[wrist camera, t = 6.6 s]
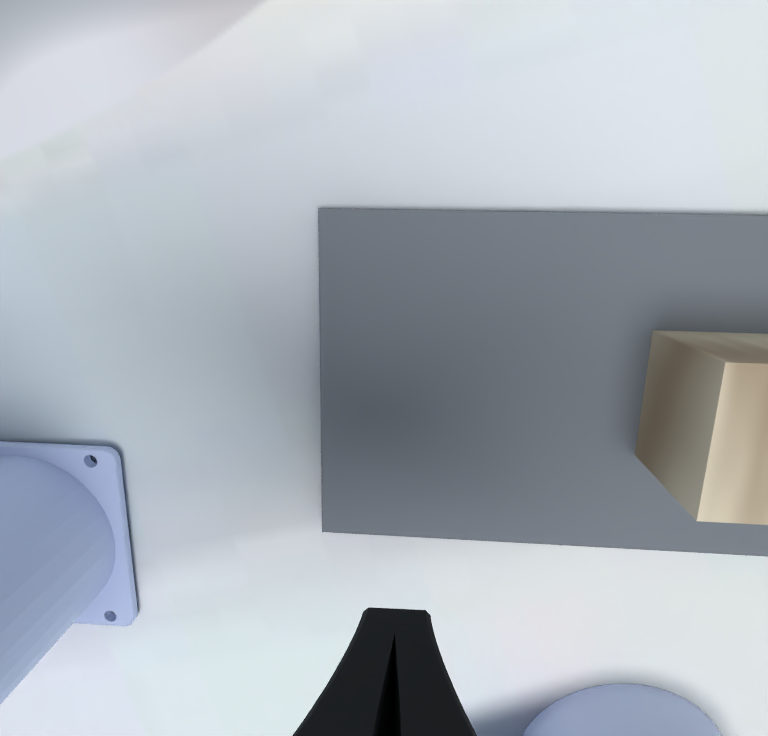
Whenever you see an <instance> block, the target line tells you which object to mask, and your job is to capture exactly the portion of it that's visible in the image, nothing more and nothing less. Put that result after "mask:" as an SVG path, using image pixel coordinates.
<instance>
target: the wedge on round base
mask: <svg viewBox="0 0 768 736" xmlns="http://www.w3.org/2000/svg"><path fill="white" fill-rule="evenodd" d="M522 736H722V735H721V733H720V732H719V730H718V728H717V727H716V725H715V724H714V723H713V722H712V720H711V719H710V718H709V717H708V716H707V715H706V714H705V713H704V712H703V711H702V710H701V709H700V708H698V707H697V706H695V705H694V704H692V703H691V702H689V701H688V700H686V699H684V698H682V697H680V696H678V695H676V694H674V693H671V692H669V691H666V690H663V689H660V688H655V687H651V686H646V685H638V684H608V685H600V686H595V687H591V688H586V689H583V690H580V691H577V692H574V693H571V694H569V695H567V696H565V697H563V698H561V699H559V700H557V701H556V702H554V703H553V704H551V705H550V706H548V707H547V708H545V709H544V710H543V711H542V712H541V713H540V714H538V715H537V716H536V717H535V719H534V720H533V721H532V722H531V723H530V724H529V725H528V727H527V728H526V730H525V732H524V733H523V735H522Z"/></svg>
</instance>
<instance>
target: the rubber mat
mask: <svg viewBox="0 0 768 736" xmlns="http://www.w3.org/2000/svg"><path fill="white" fill-rule="evenodd" d="M318 224H319V305H320V387H321V468H322V532H334V533H352V534H370V535H388V536H407V537H425V538H443V539H461V540H479V541H497V542H516V543H534V544H552V545H570V546H588V547H607V548H625V549H643V550H661V551H679V552H698V553H716V554H734V555H752V556H768V525H759V524H740V523H721V522H701V521H696V520H695V519H694V518H693V517H692V516H691V515H690V514H689V513H688V511H687V510H686V509H685V508H684V507H683V506H682V505H681V504H680V503H679V502H678V501H677V500H676V499H675V498H674V496H673V495H672V494H671V493H670V492H669V491H668V490H667V489H666V488H665V487H664V486H663V485H662V484H661V483H660V481H659V480H658V479H657V478H656V477H655V476H654V475H653V474H652V473H651V472H650V471H649V470H648V469H647V468H646V467H645V465H644V464H643V463H642V462H641V461H640V460H639V459H638V458H637V457H636V456H635V450H636V443H637V436H638V429H639V423H640V416H641V409H642V402H643V395H644V388H645V381H646V374H647V367H648V360H649V353H650V347H651V340H652V333H653V330H658V331H692V332H726V333H760V334H768V215H710V214H648V213H585V212H523V211H460V210H398V209H336V208H318Z"/></svg>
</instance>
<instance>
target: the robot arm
mask: <svg viewBox="0 0 768 736" xmlns="http://www.w3.org/2000/svg"><path fill="white" fill-rule="evenodd" d="M90 455H92V456H94V457H95V458H96V460H97V463H94V462H93V461H92V460H91V458H90ZM110 611H113V612H114V613H115V614H116V615H114V614H112V613H111V612H110ZM137 614H138V610H137V601H136V592H135V583H134V574H133V565H132V557H131V548H130V539H129V530H128V521H127V512H126V503H125V495H124V486H123V477H122V468H121V459H120V456H119V454H118V452H117V451H116V450H115V449H113V448H112V447H108V446H90V445H68V444H46V443H24V442H2V441H0V705H1V703H2V702H3V701H4V700H5V699H6V698H7V697H8V696H9V694H10V693H11V692H12V691H13V690H14V689H15V688H16V687H17V685H18V684H19V683H20V682H21V681H22V680H23V679H24V678H25V676H26V675H27V674H28V673H29V672H30V671H31V670H32V669H33V668H34V666H35V665H36V664H37V663H38V662H39V661H40V660H41V659H42V657H43V656H44V655H45V654H46V653H47V652H48V651H49V650H50V648H51V647H52V646H53V645H54V644H55V643H56V642H57V641H58V639H59V638H60V637H61V636H62V635H63V634H64V633H65V632H66V630H67V629H68V628H69V627H70V626H71V625H72V624H73V623H84V624H98V625H113V626H129V625H130V624H132V623H133V621H134V620H135V618H136V617H137ZM293 736H477V735H476V733H475V731H474V729H473V727H472V725H471V723H470V721H469V719H468V717H467V715H466V713H465V711H464V709H463V707H462V705H461V703H460V700H459V698H458V696H457V694H456V691H455V689H454V687H453V684H452V682H451V680H450V677H449V675H448V673H447V670H446V668H445V665H444V662H443V660H442V657H441V654H440V651H439V648H438V645H437V642H436V639H435V635H434V632H433V628H432V623H431V616H430V614H429V613H428V612H427V611H426V610H409V609H388V608H367V609H366V610H365V611H364V612H363V614H362V617H361V620H360V623H359V625H358V627H357V630H356V632H355V634H354V636H353V638H352V641H351V642H350V644H349V646H348V648H347V650H346V652H345V654H344V656H343V658H342V660H341V661H340V663H339V665H338V667H337V668H336V670H335V672H334V674H333V675H332V677H331V679H330V681H329V682H328V684H327V686H326V687H325V689H324V690H323V692H322V693H321V695H320V696H319V698H318V699H317V701H316V702H315V704H314V705H313V707H312V709H311V710H310V712H309V713H308V715H307V716H306V718H305V719H304V720H303V722H302V723H301V725H300V726H299V727H298V729H297V730H296V732H295V733H294V734H293Z"/></svg>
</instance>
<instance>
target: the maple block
mask: <svg viewBox="0 0 768 736" xmlns="http://www.w3.org/2000/svg"><path fill="white" fill-rule="evenodd" d="M635 456H636V457H637V458H638V459H639V460H640V461H641V462H642V463H643V464H644V465H645V467H646V468H647V469H648V470H649V471H650V472H651V473H652V474H653V475H654V476H655V477H656V478H657V479H658V480H659V481H660V483H661V484H662V485H663V486H664V487H665V488H666V489H667V490H668V491H669V492H670V493H671V494H672V495H673V496H674V498H675V499H676V500H677V501H678V502H679V503H680V504H681V505H682V506H683V507H684V508H685V509H686V510H687V511H688V513H689V514H690V515H691V516H692V517H693V518H694V519H695V520H696V521H701V522H721V523H740V524H759V525H768V334H760V333H726V332H692V331H658V330H653V333H652V340H651V347H650V353H649V360H648V367H647V374H646V381H645V388H644V395H643V402H642V409H641V416H640V423H639V429H638V436H637V443H636V450H635Z"/></svg>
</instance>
